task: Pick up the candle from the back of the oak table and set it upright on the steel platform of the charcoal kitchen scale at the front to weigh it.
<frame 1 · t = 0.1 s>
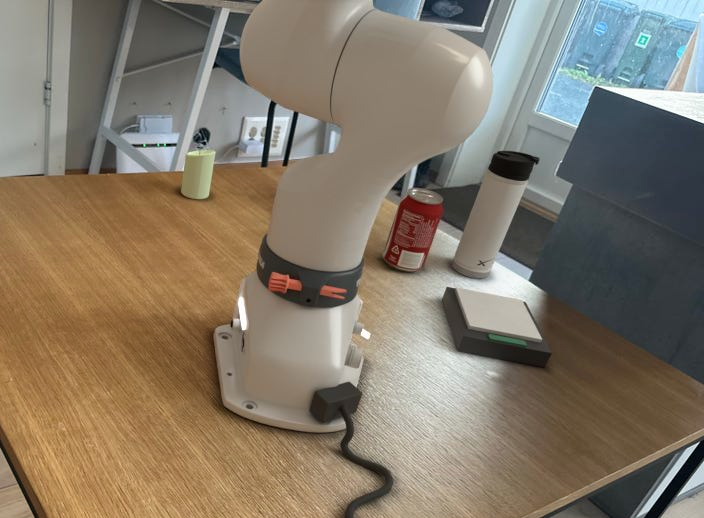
soda can: (401, 265, 114), on the table
scale: (490, 332, 100), on the table
candle: (194, 195, 125), on the table
travel mug: (470, 271, 117), on the table
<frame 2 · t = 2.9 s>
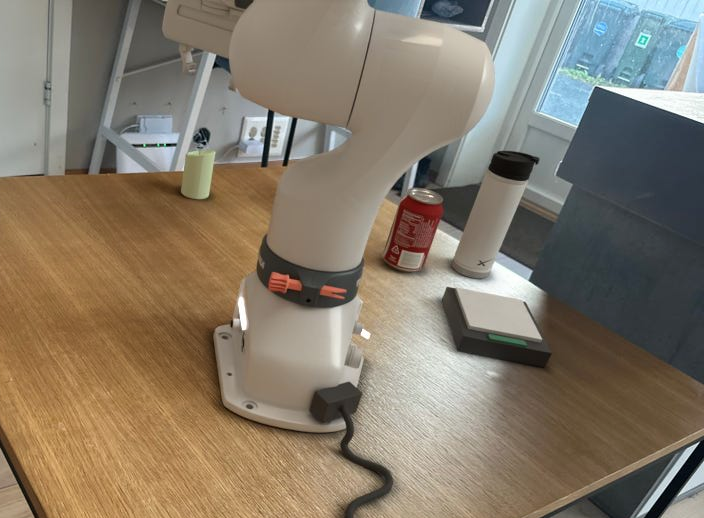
hand: (211, 82, 114), 19 cm above the table, tool pointing down, fingers open, 8 cm apart
nothing on the table moved.
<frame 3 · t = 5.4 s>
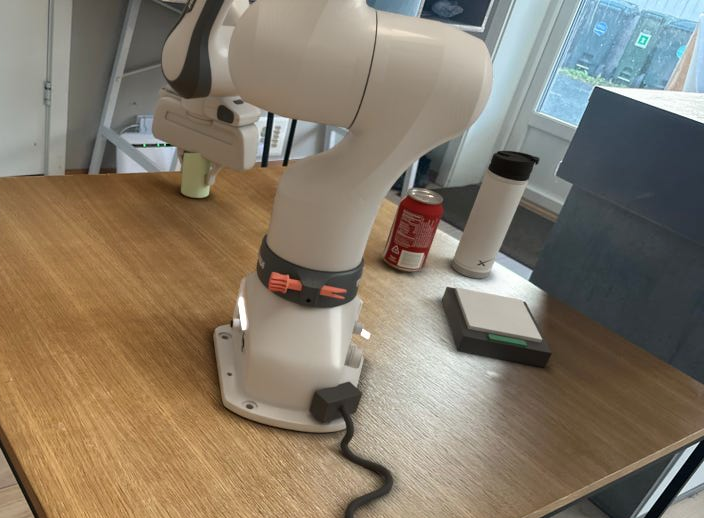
hand: (197, 179, 123), 3 cm above the table, tool pointing down, fingers closed on candle, 3 cm apart
candle: (194, 194, 125), on the table, touching gripper
everything else where it was.
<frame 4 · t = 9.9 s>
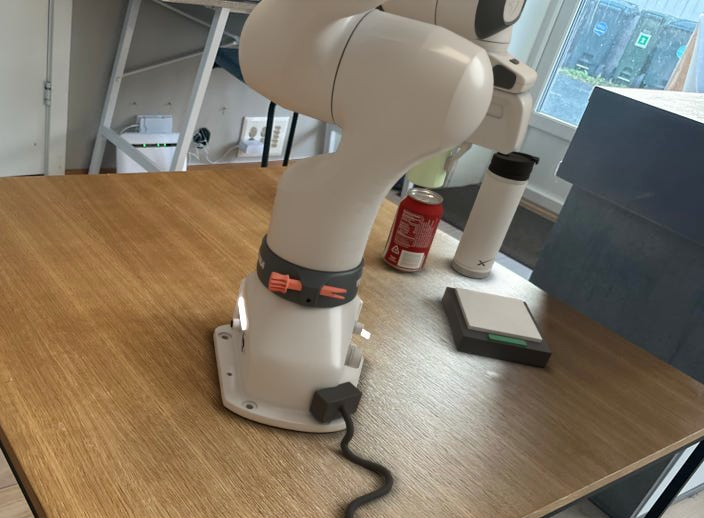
hand: (430, 164, 97), 19 cm above the table, tool pointing down, fingers closed on candle, 3 cm apart
candle: (424, 183, 99), point 16 cm above the table, touching gripper
everything else where it was.
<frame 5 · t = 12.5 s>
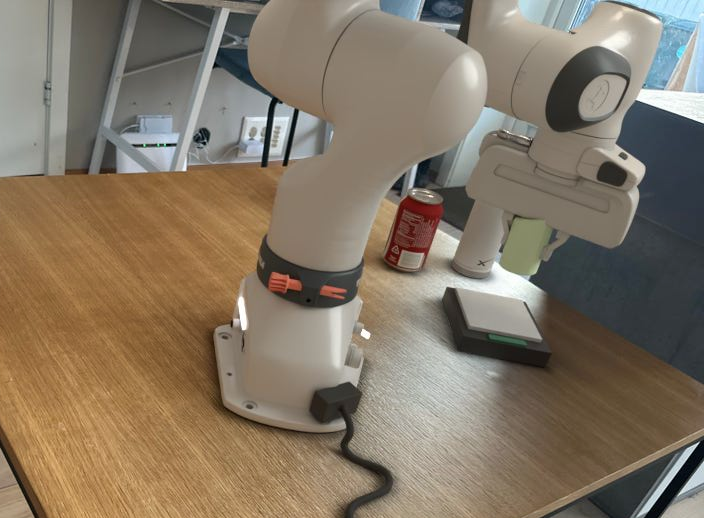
hand: (524, 251, 94), 13 cm above the table, tool pointing down, fingers closed on candle, 3 cm apart
candle: (516, 269, 95), point 10 cm above the table, touching gripper
everything else where it was.
when the fingers open (5 cm above the table, at t = 14.5 s): candle stays where it is, resting on scale.
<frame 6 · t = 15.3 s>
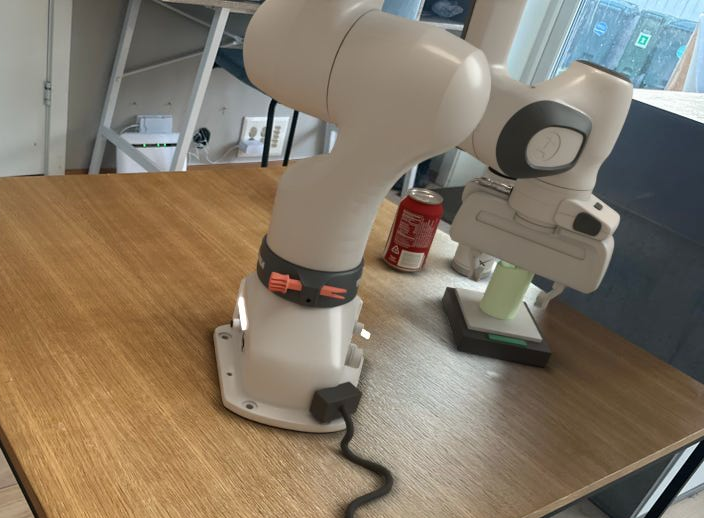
hand: (505, 293, 97), 6 cm above the table, tool pointing down, fingers open, 8 cm apart
candle: (496, 312, 100), point 3 cm above the table, touching scale
everything else where it was.
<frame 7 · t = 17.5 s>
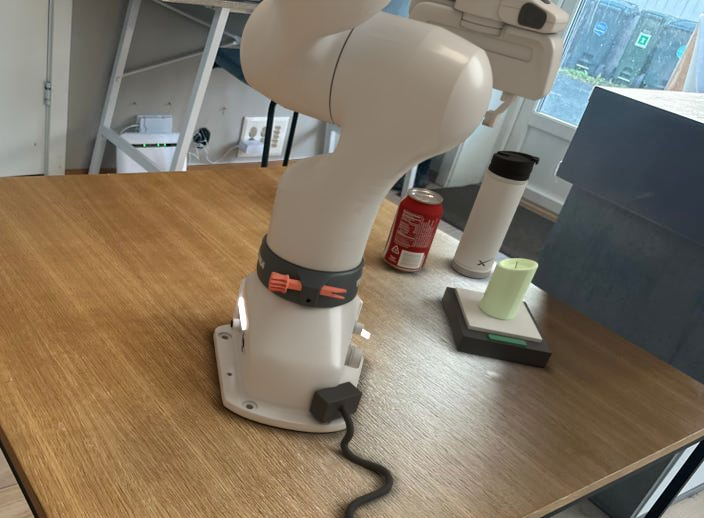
hand: (454, 115, 93), 26 cm above the table, tool pointing down, fingers open, 8 cm apart
nothing on the table moved.
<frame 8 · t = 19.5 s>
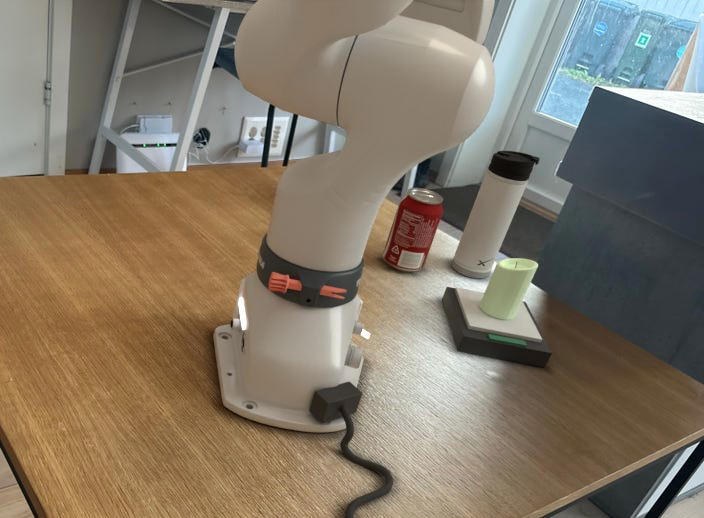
hand: (395, 68, 96), 29 cm above the table, tool pointing down, fingers open, 8 cm apart
nothing on the table moved.
at the end: candle inside the target area on the scale (0.4 cm from its centre), point 2.8 cm above the scale's base; candle tilted 0°; the gripper is holding nothing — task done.
